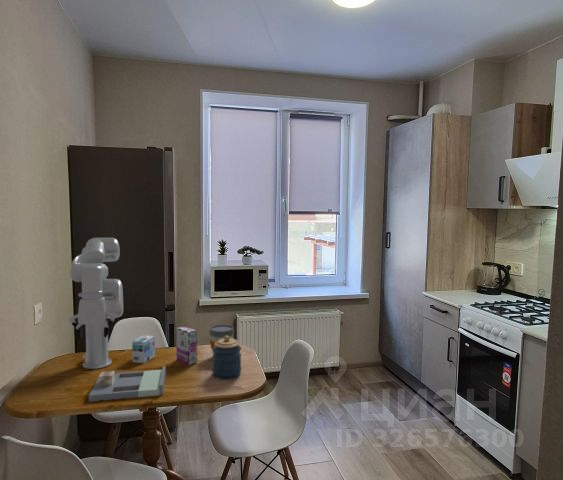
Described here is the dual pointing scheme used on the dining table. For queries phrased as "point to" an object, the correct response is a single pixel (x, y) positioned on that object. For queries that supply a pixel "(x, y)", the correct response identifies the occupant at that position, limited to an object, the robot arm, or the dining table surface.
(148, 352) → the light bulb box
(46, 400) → the dining table surface
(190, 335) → the candy bar box
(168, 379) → the dining table surface
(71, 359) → the dining table surface
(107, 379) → the clear glass block
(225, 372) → the canister
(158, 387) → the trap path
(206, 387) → the dining table surface
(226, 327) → the reusable coffee cup
